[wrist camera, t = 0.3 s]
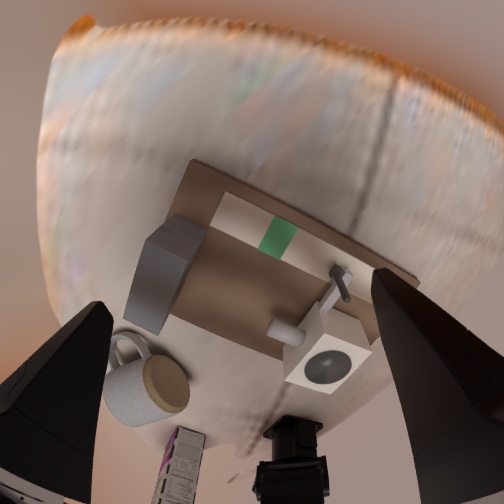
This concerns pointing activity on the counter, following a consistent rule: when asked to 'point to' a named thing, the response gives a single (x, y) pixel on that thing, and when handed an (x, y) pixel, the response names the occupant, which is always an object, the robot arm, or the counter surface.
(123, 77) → the counter surface
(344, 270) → the gauge
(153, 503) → the candy bar box
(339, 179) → the counter surface
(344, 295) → the peak needle
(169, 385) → the ceramic mug
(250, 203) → the test rig
